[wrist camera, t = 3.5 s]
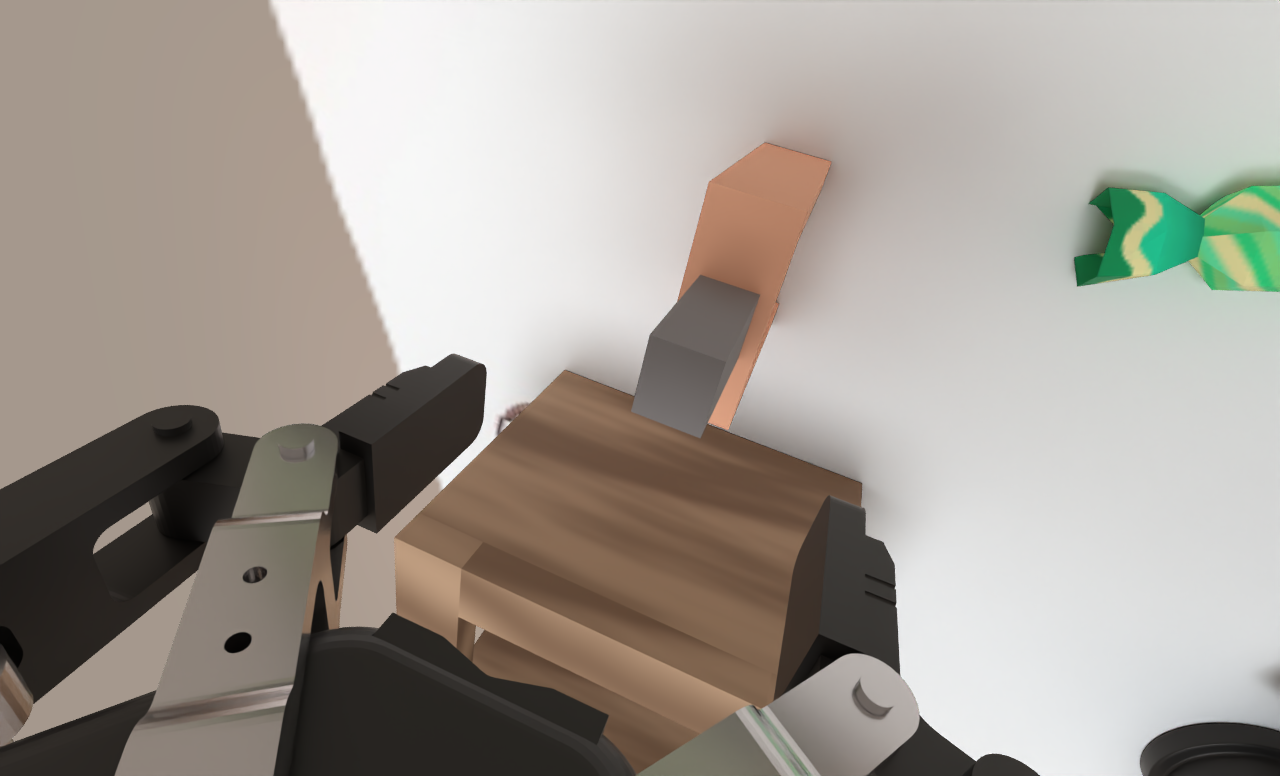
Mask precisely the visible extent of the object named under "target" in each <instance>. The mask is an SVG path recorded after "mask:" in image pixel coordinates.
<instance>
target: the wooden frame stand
mask: <svg viewBox="0 0 1280 776" xmlns="http://www.w3.org/2000/svg"><path fill="white" fill-rule="evenodd" d="M633 401H634V396H631V395H629V394H626V393H624V392H621V391H618V390H616V389H613V388H610V387H608V386H605V385H603V384H600V383H597V382H595V381H592V380H589V379H587V378H584V377H582V376H579V375H576V374H574V373H571V372H569V371H566V370H564V371H563V372H562V373H561V374H560V375H559V376H558V377H557V378H556V379H555V380H554V381H553V382H552V383H551V384H550V385H549V386H548V387H547V388H546V389H545V390H544V391H543V392H542V393H541V394H540V395H539V396H538V397H537V398H536V399H535V400H534V401H533V402H532V403H531V404H530V405H529V406H528V407H526V408H525V409H524V410H523V411H522V412H521V413H520V414H519V415H518V416H517V417H516V418H515V419H514V420H513V421H512V422H511V423H510V424H509V425H508V426H507V427H506V428H505V429H504V430H503V431H502V432H501V433H500V434H499V435H498V436H497V437H496V438H495V439H494V440H493V441H492V442H491V443H490V444H489V445H488V446H487V447H486V448H485V449H484V450H483V451H482V452H481V453H480V454H479V455H478V456H477V457H476V458H475V459H474V460H473V461H472V462H471V463H470V464H469V465H468V466H466V467H465V468H464V469H463V470H462V471H461V472H460V473H459V474H458V475H457V476H456V477H455V478H454V479H453V480H452V481H451V482H450V483H449V484H448V485H447V486H446V487H445V488H444V489H443V490H442V491H441V492H440V493H439V494H438V495H437V496H436V497H435V498H434V499H433V500H432V501H431V502H430V503H429V504H428V505H427V506H426V507H425V508H424V509H423V510H422V511H421V512H420V513H419V514H418V515H417V516H416V517H415V518H414V519H413V520H412V521H411V522H410V523H409V524H408V525H407V526H406V527H404V528H403V529H402V530H401V531H400V532H399V533H398V534H397V535H396V536H395V538H394V544H395V576H396V606H397V607H396V608H397V615H399V616H401V617H403V618H406V619H408V620H410V621H412V622H414V623H416V624H418V625H420V626H422V627H425V628H427V629H429V630H431V631H433V632H435V633H437V634H439V635H441V636H443V637H444V638H446V639H447V640H448V641H449V642H450V643H451V644H452V645H453V646H455V647H456V648H457V649H458V650H459V651H460V652H461V653H462V654H464V655H465V656H466V657H467V658H468V659H469V660H470V661H471V662H472V663H474V664H475V665H476V666H477V667H478V668H479V669H480V670H481V671H483V672H484V673H485V674H487V675H489V676H491V677H495V678H500V679H505V680H510V681H516V682H521V683H526V684H532V685H537V686H542V687H548V688H553V689H555V690H557V691H559V692H561V693H563V694H566V695H568V696H570V697H572V698H574V699H576V700H578V701H580V702H582V703H584V704H587V705H589V706H591V707H593V708H595V709H597V710H599V711H601V712H603V713H606V714H608V715H609V717H608V720H607V723H606V726H605V729H604V733H603V735H605V736H606V737H607V738H608V739H609V740H610V741H611V742H612V743H614V745H615V746H616V747H617V748H618V749H619V750H620V751H621V752H622V754H623V755H624V756H625V757H626V759H627V760H628V762H629V763H630V764H631V766H632V767H633V769H634V770H635V772H636V774H638V773H640V772H641V771H643V770H645V769H646V768H648V767H649V766H651V765H653V764H654V763H656V762H657V761H659V760H660V759H662V758H664V757H665V756H667V755H668V754H670V753H671V752H673V751H675V750H676V749H678V748H679V747H681V746H682V745H684V744H686V743H687V742H689V741H690V740H692V739H693V738H695V737H697V736H698V735H700V734H701V733H703V732H704V731H706V730H708V729H709V728H711V727H712V726H714V725H715V724H717V723H719V722H720V721H722V720H723V719H725V718H726V717H728V716H730V715H731V714H733V713H734V712H736V711H738V710H739V709H741V708H743V707H745V706H748V705H754V706H755V707H756V708H757V709H758V710H759V709H762V708H764V707H765V706H767V705H769V704H770V703H772V702H773V700H774V693H775V686H776V680H777V673H778V667H779V660H780V653H781V647H782V640H783V634H784V627H785V620H786V614H787V607H788V601H789V594H790V587H791V581H792V574H793V570H794V566H795V562H796V559H797V556H798V553H799V551H800V548H801V546H802V544H803V542H804V540H805V538H806V536H807V534H808V532H809V530H810V528H811V526H812V524H813V522H814V520H815V518H816V516H817V514H818V512H819V510H820V508H821V506H822V504H823V502H824V500H825V499H826V497H827V496H828V495H830V496H833V497H835V498H838V499H841V500H843V501H846V502H849V503H851V504H854V505H857V506H859V507H861V498H862V483H859V482H857V481H854V480H852V479H849V478H846V477H844V476H841V475H839V474H836V473H833V472H831V471H828V470H825V469H823V468H820V467H818V466H815V465H812V464H810V463H807V462H804V461H802V460H799V459H797V458H794V457H791V456H789V455H786V454H783V453H781V452H778V451H776V450H773V449H770V448H768V447H765V446H762V445H760V444H757V443H755V442H752V441H749V440H747V439H744V438H742V437H739V436H736V435H734V434H731V433H728V432H726V431H723V430H721V429H718V428H715V427H713V426H710V425H707V426H706V428H705V430H704V432H703V434H702V436H701V438H698V437H695V436H693V435H690V434H687V433H685V432H682V431H680V430H677V429H675V428H672V427H669V426H667V425H664V424H662V423H659V422H657V421H654V420H651V419H649V418H646V417H644V416H641V415H638V414H636V413H633V412H631V410H632V406H633ZM476 626H478V627H480V628H482V629H484V632H483V633H482V634H481V636H480V637H479V639H478V640H477V642H476V643H475V644H474V640H475V628H476Z"/></svg>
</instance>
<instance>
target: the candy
mask: <svg viewBox="0 0 1280 776" xmlns="http://www.w3.org/2000/svg"><path fill="white" fill-rule="evenodd" d="M1089 204H1091V205H1096V206H1097V207H1098V208H1099V209H1100V210H1101V211H1102V212H1103V214H1104V215H1105V216H1106V217H1107V218H1108V219H1109V220H1110V221H1111V222H1112V224H1113V225H1114V226H1113V229H1112V232H1111V235H1110V238H1109V241H1108V244H1107V247H1106V250H1105V253H1100V254H1090V255H1082V256H1078V257H1075V258H1074V261H1075V271H1076V280H1077V286H1084V285H1090V284H1097V283H1104V282H1110V281H1117V280H1124V279H1130V278H1137V277H1144V276H1150V275H1155V274H1158V273H1160V272H1163V271H1165V270H1167V269H1170V268H1172V267H1175V266H1177V265H1179V264H1182V263H1184V262H1187V261H1189V262H1190V264H1191V265H1192V266H1193V267H1194V269H1195V270H1196V271H1197V272H1198V273H1199V275H1200V276H1201V277H1202V278H1203V280H1204V281H1205V282H1206V283H1207V284H1208V286H1209V287H1210V288H1211V289H1212V290H1237V291H1273V292H1280V185H1279V186H1251V187H1248V188H1245V189H1243V190H1240V191H1237V192H1235V193H1232V194H1229V195H1227V196H1224V197H1223V198H1221V199H1220V200H1218V201H1217V202H1215V203H1214V204H1212V205H1211V206H1210V207H1209V208H1208V209H1207V210H1205V211H1204V212H1203V213H1202V214H1201V215H1198V214H1197V213H1195V212H1194V211H1192V210H1190V209H1189V208H1187V207H1186V206H1184V205H1183V204H1181V203H1180V202H1178V201H1176V200H1175V199H1173V198H1172V197H1170V196H1169V195H1167V194H1166V193H1159V192H1149V191H1139V190H1129V189H1119V188H1109V187H1108V188H1107V189H1106V190H1105V191H1104V192H1102V193H1101V194H1100V195H1099V196H1097V197H1096V198H1095V199H1094V200H1092V201H1091V202H1090V203H1089Z"/></svg>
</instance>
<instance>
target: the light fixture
mask: <svg viewBox="0 0 1280 776" xmlns="http://www.w3.org/2000/svg"><path fill="white" fill-rule="evenodd" d="M1140 767H1141V772H1142V774H1143V776H1280V732H1277V731H1273V730H1269V729H1265V728H1260V727H1255V726H1249V725H1241V724H1225V723H1216V724H1200V725H1193V726H1188V727H1183V728H1180V729H1176V730H1173V731H1170V732H1168V733H1166V734H1163V735H1161V736H1160V737H1158V738H1156V739H1155V740H1154V741H1152V742H1151V743H1150V744H1149V745H1148V746H1147V747H1146V749H1145V750H1144V752H1143V754H1142V756H1141V761H1140Z"/></svg>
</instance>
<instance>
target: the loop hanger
mask: <svg viewBox="0 0 1280 776" xmlns="http://www.w3.org/2000/svg"><path fill="white" fill-rule="evenodd" d="M830 165H831V161H828V160H824V159H821V158H817V157H813V156H810V155H806V154H803V153H799V152H796V151H792V150H789V149H785V148H782V147H778V146H775V145H771V144H768V143H763V144H762V145H760V146H759V147H758V148H756V149H755V150H753V151H752V152H751V153H749V154H748V155H746V156H745V157H743V158H742V159H741V160H739V161H738V162H736V163H735V164H734V165H732V166H731V167H729V168H728V169H726V170H725V171H724V172H722V173H721V174H719V175H718V176H717V177H715V178H714V179H712V180H711V181H709V184H708V188H707V191H706V195H705V199H704V203H703V206H702V210H701V214H700V218H699V221H698V225H697V229H696V233H695V237H694V240H693V244H692V248H691V252H690V255H689V259H688V263H687V267H686V270H685V274H684V278H683V282H682V286H681V289H680V293H679V297H678V301H677V303H676V304H675V305H674V307H673V308H672V309H671V310H670V311H669V313H668V314H667V315H666V316H665V317H664V319H663V320H662V321H661V322H660V323H659V324H658V326H657V327H656V328H655V329H654V330H653V332H652V333H651V334H650V336H649V340H648V345H647V349H646V353H645V357H644V361H643V365H642V369H641V373H640V377H639V381H638V385H637V389H636V393H635V397H634V401H633V406H632V410H631V412H633V413H636V414H638V415H641V416H644V417H646V418H649V419H651V420H654V421H657V422H659V423H662V424H664V425H667V426H669V427H672V428H675V429H677V430H680V431H682V432H685V433H687V434H690V435H693V436H695V437H698V438H701V436H702V434H703V432H704V430H705V428H706V426H707V423H711V424H713V425H716V426H719V427H721V428H724V429H726V430H728V429H729V427H730V424H731V422H732V420H733V417H734V415H735V412H736V410H737V407H738V405H739V402H740V400H741V398H742V395H743V393H744V390H745V388H746V385H747V383H748V380H749V378H750V376H751V373H752V371H753V368H754V366H755V363H756V361H757V359H758V356H759V354H760V351H761V349H762V346H763V344H764V341H765V339H766V337H767V334H768V332H769V329H770V327H771V324H772V322H773V319H774V316H775V313H776V311H777V308H778V305H779V304H778V303H776V300H777V297H778V295H779V292H780V289H781V286H782V284H783V281H784V278H785V275H786V273H787V270H788V267H789V265H790V262H791V259H792V256H793V254H794V251H795V248H796V245H797V243H798V240H799V238H800V236H801V234H802V231H803V229H804V227H805V225H806V222H807V220H808V218H809V216H810V214H811V211H812V209H813V207H814V205H815V203H816V200H817V198H818V196H819V194H820V191H821V189H822V186H823V184H824V181H825V178H826V176H827V173H828V170H829V168H830Z"/></svg>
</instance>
